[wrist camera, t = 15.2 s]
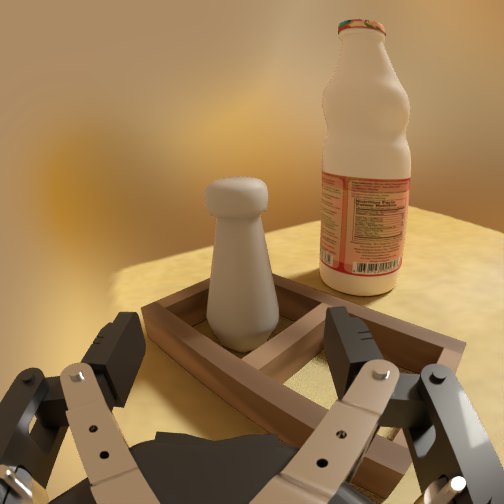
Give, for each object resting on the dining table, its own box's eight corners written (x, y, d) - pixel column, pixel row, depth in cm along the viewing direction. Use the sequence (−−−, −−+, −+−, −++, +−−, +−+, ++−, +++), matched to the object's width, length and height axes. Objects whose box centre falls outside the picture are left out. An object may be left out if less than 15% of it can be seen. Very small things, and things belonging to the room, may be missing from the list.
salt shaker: (210, 363, 23) (189, 189, 18) (208, 321, 28) (193, 176, 23) (286, 354, 24) (287, 183, 19) (272, 315, 29) (269, 171, 24)
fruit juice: (301, 278, 36) (297, 21, 25) (347, 255, 41) (348, 41, 31) (373, 308, 29) (379, 4, 18) (410, 276, 34) (418, 35, 24)
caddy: (245, 288, 34) (244, 262, 33) (454, 373, 19) (466, 342, 18) (147, 336, 26) (140, 307, 25) (386, 499, 11) (404, 474, 10)
